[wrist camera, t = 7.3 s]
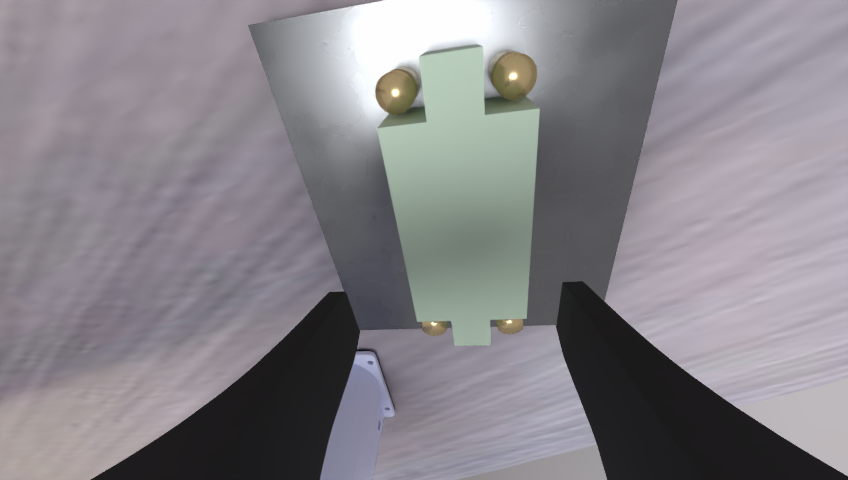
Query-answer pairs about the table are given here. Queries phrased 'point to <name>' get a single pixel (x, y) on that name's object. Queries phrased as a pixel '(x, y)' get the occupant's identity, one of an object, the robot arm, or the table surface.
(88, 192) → the table surface
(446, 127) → the pale green block
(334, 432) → the robot arm
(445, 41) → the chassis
